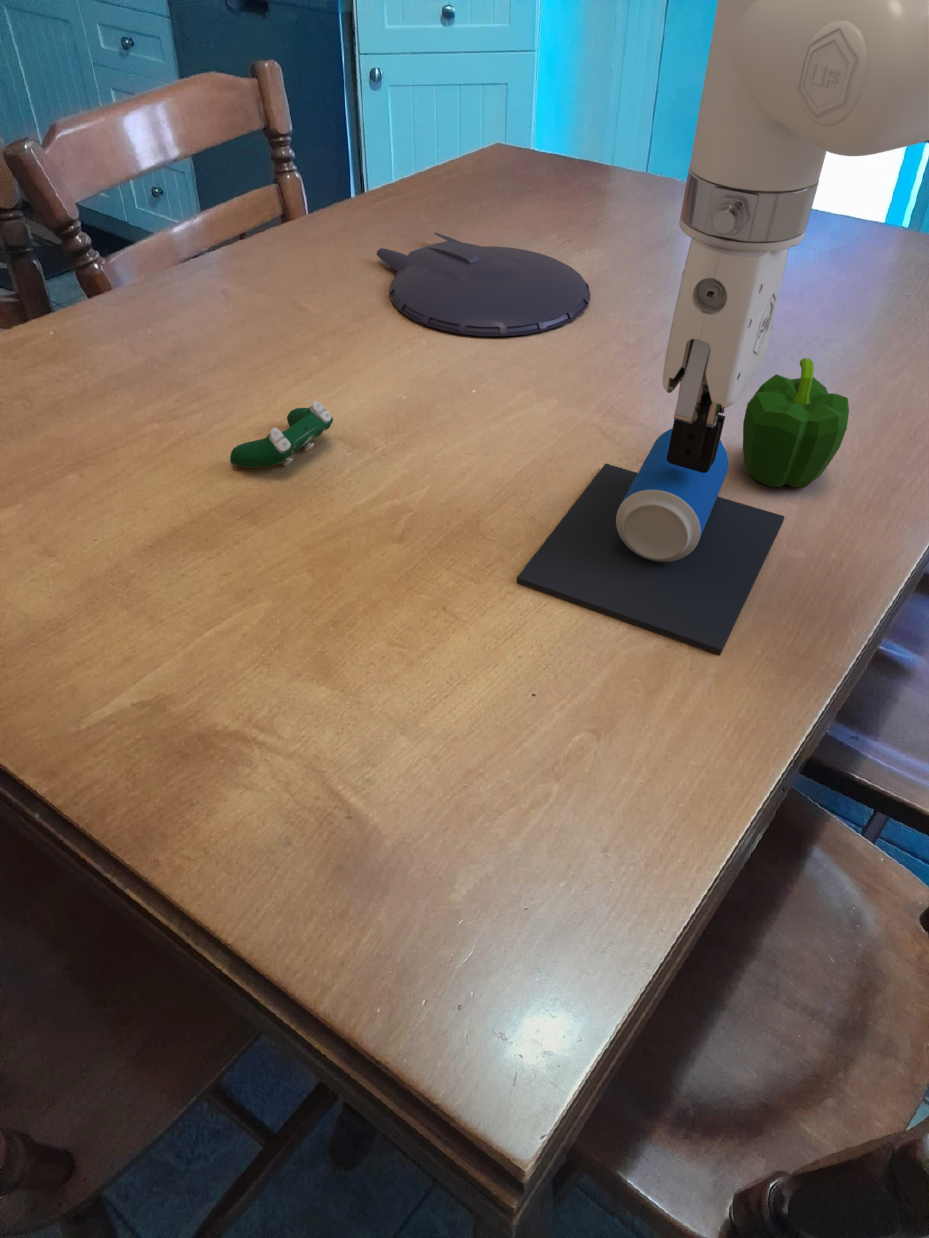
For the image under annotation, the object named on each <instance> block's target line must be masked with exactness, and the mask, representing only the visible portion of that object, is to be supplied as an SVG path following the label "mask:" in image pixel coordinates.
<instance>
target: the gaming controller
mask: <svg viewBox="0 0 929 1238" xmlns="http://www.w3.org/2000/svg"><path fill="white" fill-rule="evenodd" d="M286 422H287V424H288V426H289V427H288V428H286V429H285V430H283V431H281V430H280V429H279V428H278V427H272V428H271V430H270V431H269V433H268V434H267V436H266V437H264V438H261V439H256V440H252V441H251V440H250V441H246V442H244V443H240V444H238V445H236V446H235V447H234V448H233V449H232V450H231V452H230V459H229V461H230V463H231V464H232V465H235V466H238V467H242V468H246V469H247V468H248V469H257V468H258V469H260V468H267V467H272V466H278V465H279V464H282V463H283V464H282V465H283V466H287V465H288V464H290V463H291V462H293V460H294V458H293V457H292V456H293V454H294V453H295V452H296V451H298V450H299V449H301V450H302V449H303V451H306V452H308V451H309V450H310V449H311V448H313V447H314V446H315V442H314V439H315V438H317V437H319V436H321V435H322V434H323V433H324V432H325V431H327V430H329V429H330V428H331V425H332V424H333V422H334V418H333V416H332V414H331V412H330V411H329V410H328V409H326V407H325V406H324V405H323V404H322V403H321V402H319V401H318V400H313V401H312V402H311V406H309V407H297V408H293V409H291V410H290V411H289V412H288V414H287V416H286ZM290 457H291V458H290Z"/></svg>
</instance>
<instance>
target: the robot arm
mask: <svg viewBox="0 0 929 1238" xmlns="http://www.w3.org/2000/svg"><path fill="white" fill-rule="evenodd" d="M712 26H713V28H712V32H711V40H710V44H709V51H708V55H707V60H706V61H707V63H706V68H705V73H704V80H703V84H702V91H701V96H700V97H701V98H700V102H699V107H698V113H697V120H696V125H695V131H694V137H693V144H692V150H691V154H690V155H691V156H690V161H689V166H688V170H687V176H686V182H685V188H684V194H683V199H682V205H681V206H682V207H681V212H680V217H679V222H678V224H679V228H680V231H682V232H683V233H684V235H686V236H688V237H689V238H691V239H690V243H689V247H688V251H687V255H686V259H685V262H684V267H683V270H682V272H681V280H680V284H679V288H678V293H677V298H676V302H675V307H674V311H673V316H672V321H671V325H670V331H669V337H668V341H667V345H666V346H667V347H666V353H665V357H664V365H663V372H662V387H663V388H664V390H665V391H666V392H667V393H668V394H671V393H673V392H674V391H675V389H676V388H677V387H678V385H679V389H678V390H679V391H678V395H677V402H676V407H675V409H674V414H673V424H672V428H673V429H672V428H671V429H672V434H671V439H670V444H669V449H668V454H667V461H668V462H669V463H670V464H674V465H677V466H681V467H684V468H688V469H691V470H694V471H698V472H701V473H706V472H708V471H709V469H710V467H711V465H712V464H713V462H714V461H715V458H716V454H717V450H718V445H719V441H720V438H721V437H722V433H723V428H724V424H725V421H726V415H724V413H725V411H726V409H727V408H729V407H731V406H733V405H734V404H735V403H737V402H738V400H739V399H740V398H741V396H742V394H743V393H744V391H745V390H746V388H747V387H748V385H749V384H750V382H751V380H752V379H753V377H754V376H755V374H756V373H757V371H758V369H759V368H760V366H761V364H762V363H763V361H764V359H765V357H766V354H767V352H768V348H769V345H770V344H769V343H770V339H771V335H772V331H773V325H774V321H775V316H776V312H777V307H778V303H779V298H780V294H781V289H782V284H783V280H784V275H785V270H786V266H787V261H788V255H789V249H791V248H793V247H796V246H798V245H799V244H801V243H802V242H803V240H804V238H805V235H806V231H807V227H808V224H809V220H810V216H811V213H812V209H813V205H814V203H815V202H814V201H815V198H816V193H817V191H818V186H819V183H820V177H821V174H822V170H823V167H824V162H825V159H826V155H827V152H828V153H829V154H830V153H831V154H834V155H837V156H838V155H839V156H844V157H863V156H864V157H866V156H870V155H876V154H881V153H885V152H889V151H894V150H898V149H901V148H906V147H909V146H914V145H917V144H919V143H923V142H926V141H929V0H717V3H716V10H715V14H714V20H713V25H712Z"/></svg>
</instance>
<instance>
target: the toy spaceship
mask: <svg viewBox="0 0 929 1238" xmlns="http://www.w3.org/2000/svg"><path fill="white" fill-rule="evenodd" d="M434 235H435V236H437V237H439V238H441V239H443V240H444V241H441V242H438V243H433V244H430V245H426V246H423V247H421V248H417V249H414V250H412V251H410V252H409V253H408V254H405V253H403V252H399V251H396V250H393V249H389V248H384V247H383V248H382V247H381V248H379V249H377V251H376V256H377V257H378V258H379V259H380V260H381V261H382V262H383V263H385V265H387V266H388V267H390V268H391V269H393V270H394V271H397V272H396V273H395V275H394V277H393V279H392V281H391V283H390V285H389V289H388V290H389V291H388V293H389V294H388V295H389V297H390V300H391V303H392V305H394V306H395V308H396V309H397V310H398V311H399V312H401V313H402V314H403V315H404V316H406V317H407V318H409V319H410V320H413V321H415V322H418V323H419V324H420V325H421V324H422V325H423V326H427V327H430V328H433V329H436V330H440V331H442V332H443V331H444V332H449V333H454V334H459V335H465V336H466V335H467V336H476V337H477V336H479V337H508V336H509V337H511V336H513V337H514V336H522V335H523V336H525V335H530V334H535V333H541V332H545V331H549V330H552V329H555V328H558V327H561V326H563V325H565V324H567V323H569V322H572V321H574V320H575V319H576V318H578V317H579V316H580V315H581V314H583V313H584V311H585V310H586V309H587V307H588V306H589V305H590V300H591V291H590V285H589V284H588V283H587V282H586V280H585V278H583V276H582V275H581V273H579V272H578V271H576V269H574V268H573V267H572V266H569V265H568V264H566V263H564V262H562V261H561V260H559V259H556V258H554V257H551V256H549V255H546V254H543V253H539V252H535V251H531V250H529V249H528V250H527V249H521V248H517V247H509V246H508V247H507V246H495V245H494V246H492V245H491V246H489V245H488V246H487V245H485V246H484V245H476V244H472V243H467V242H463V241H460V240H457V239H455V238H453V237H450V236H447V235H444V234H441V233H438V232H435V233H434Z"/></svg>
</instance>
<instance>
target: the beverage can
mask: <svg viewBox="0 0 929 1238" xmlns="http://www.w3.org/2000/svg"><path fill="white" fill-rule="evenodd" d="M672 429H673V427H672V428H670V429H668V430H666V431H665V432H663V433H662V434H661V435H659V436H658V437H657V438H656V440H655V441H654V443H653V445H652V447H651V449H650V450H649V452H648V454H647V456H646V457H645V460H644V461H643V463H642V465H641V466H640V469H639V470H638V472H637V473H638V474H637V476H636V478H635V479H634V481H633V483H632V485H631V487H630V489H629V490H628V492H627V494H626V496H625V498H624V499H623V501H622V503H621V505H620V507H619V509H618V512H617V516H616V526H617V530H618V533H619V535H620V537H621V539H622V541H623V542H624V543H625V545H626V546H627V547H628V548H629V549H631V550H632V551H633V552H634V553H636V554H637V555H639V556H641V557H643V558H646V559H648V560H652V561H657V562H671V561H676V560H679V559H682V558H684V557H685V556H687V555H689V554H690V553H691V552H692V551H693V550H694V549H695V547H696V546H697V544H698V542H699V539H700V537H701V535H702V532H703V530H704V527H705V525H706V523H707V520H708V518H709V515H710V513H711V510H712V508H713V506H714V503H715V501H716V498H717V496H718V497H719V493H720V491H721V488H722V487H723V485H724V481H725V480H726V477H727V475H728V471H729V465H730V463H729V456H728V452H727V449H726V446H725V442H724V441H723V439H722V438H721V437H720V441H719V445H718V450H717V454H716V458H715V461H714V462H713V464H712V465H711V467H710V469H709V471H708V472H706V473H701V472H698V471H694V470H691V469H688V468H684V467H681V466H677V465H674V464H670V463H669V462H668V461H667V454H668V449H669V444H670V439H671V434H672Z"/></svg>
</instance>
